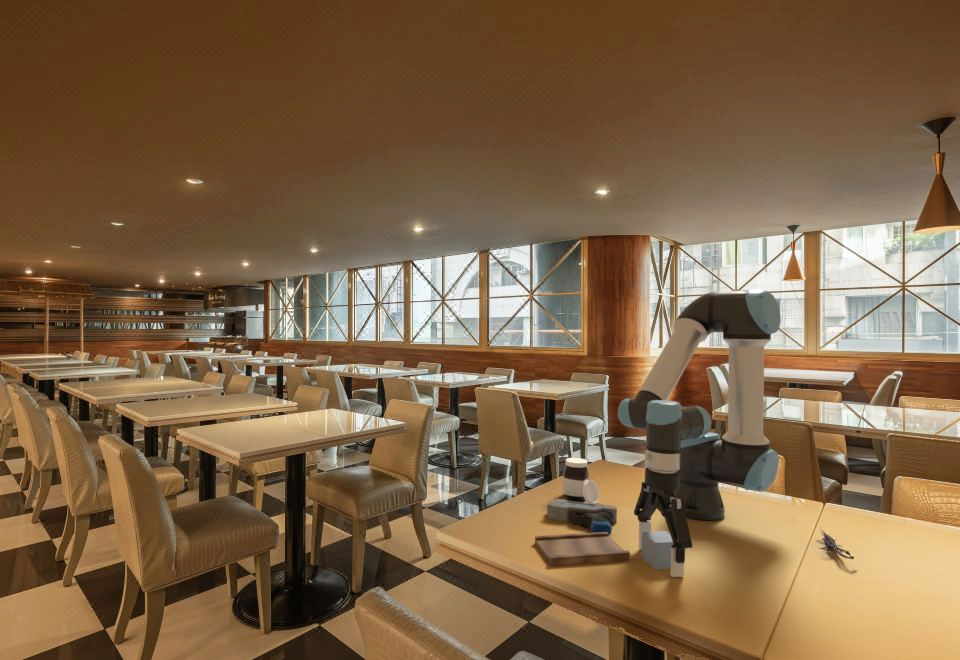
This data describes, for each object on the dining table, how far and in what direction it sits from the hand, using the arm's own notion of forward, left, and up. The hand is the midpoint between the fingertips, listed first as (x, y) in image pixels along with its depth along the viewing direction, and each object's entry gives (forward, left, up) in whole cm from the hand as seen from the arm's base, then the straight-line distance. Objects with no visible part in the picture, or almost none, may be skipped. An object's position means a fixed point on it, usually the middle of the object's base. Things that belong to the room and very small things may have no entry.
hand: (659, 562), depth 116 cm
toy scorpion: (-45, +1, 0) cm, 46 cm away
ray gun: (+9, -24, -1) cm, 26 cm away
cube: (0, 0, 0) cm, 0 cm away
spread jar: (+1, -44, 0) cm, 44 cm away
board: (+16, -8, 0) cm, 18 cm away
